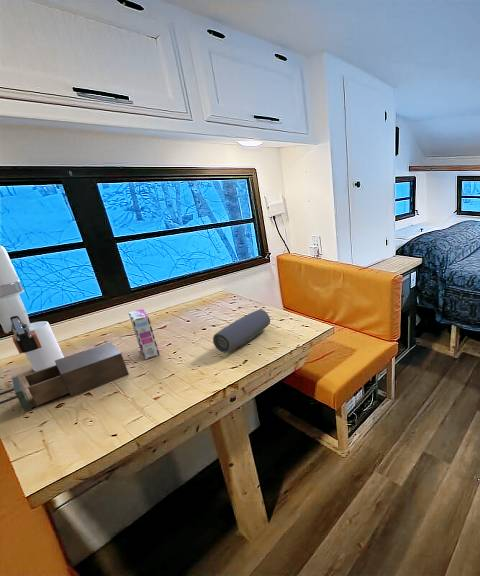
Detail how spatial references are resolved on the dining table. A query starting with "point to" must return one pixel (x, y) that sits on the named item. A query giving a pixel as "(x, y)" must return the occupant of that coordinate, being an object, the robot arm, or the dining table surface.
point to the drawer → (39, 387)
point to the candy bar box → (144, 333)
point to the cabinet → (91, 368)
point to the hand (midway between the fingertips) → (29, 347)
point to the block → (31, 335)
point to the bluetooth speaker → (241, 331)
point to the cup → (44, 347)
